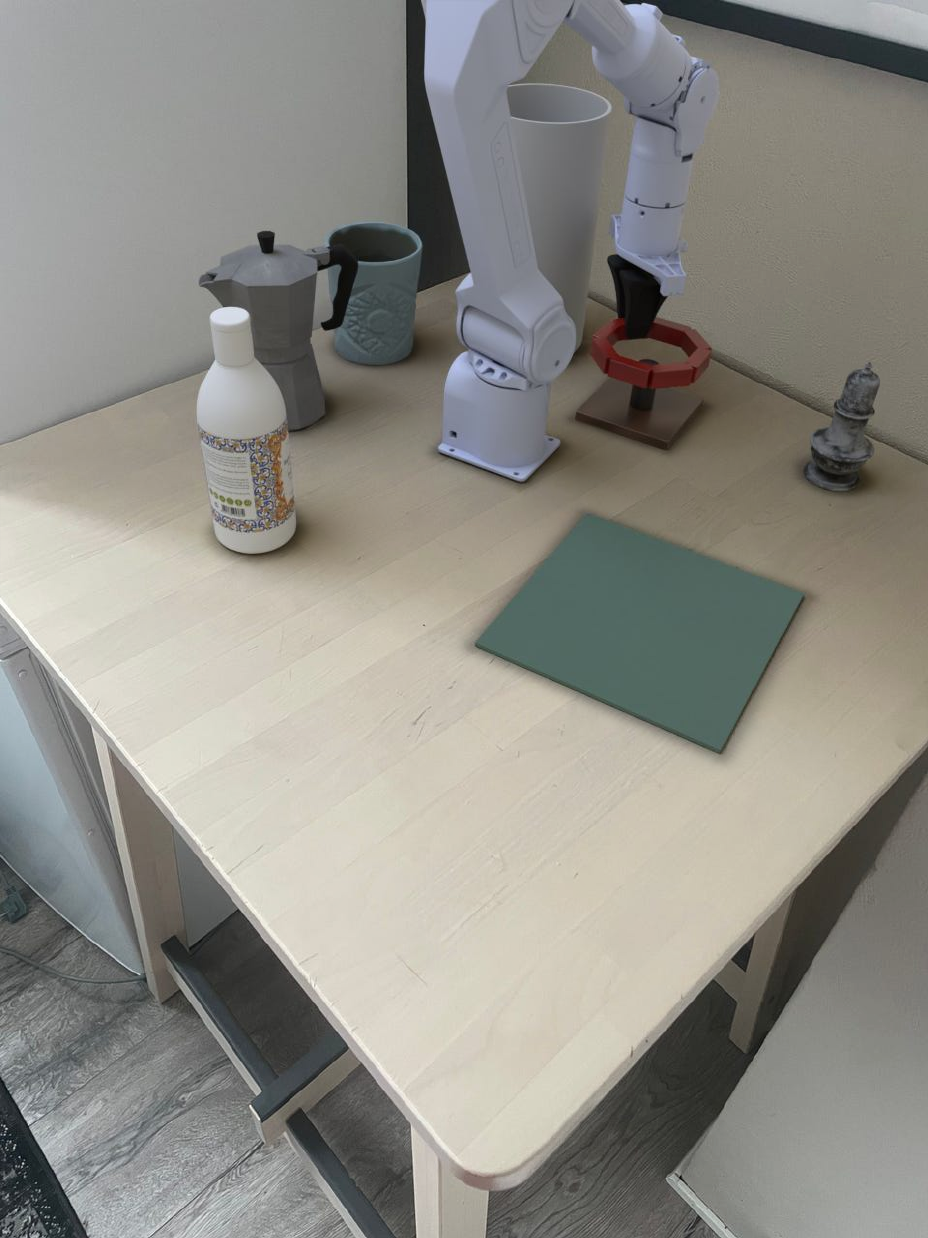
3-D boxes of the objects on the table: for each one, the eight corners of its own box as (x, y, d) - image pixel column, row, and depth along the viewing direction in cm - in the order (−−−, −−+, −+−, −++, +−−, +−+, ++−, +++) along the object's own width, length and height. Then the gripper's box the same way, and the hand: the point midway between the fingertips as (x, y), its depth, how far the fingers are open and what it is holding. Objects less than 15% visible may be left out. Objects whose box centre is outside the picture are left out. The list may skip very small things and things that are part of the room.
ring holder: (574, 419, 104) (581, 371, 100) (615, 378, 111) (622, 331, 107) (666, 450, 101) (676, 401, 97) (702, 406, 107) (713, 358, 103)
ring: (574, 366, 100) (576, 349, 98) (620, 323, 107) (623, 306, 106) (680, 399, 96) (683, 382, 95) (721, 352, 103) (724, 336, 102)
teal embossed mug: (363, 317, 119) (360, 213, 110) (438, 341, 115) (441, 235, 107) (311, 352, 112) (303, 245, 104) (388, 379, 108) (387, 270, 100)
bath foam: (293, 557, 86) (272, 338, 73) (209, 556, 86) (173, 336, 72) (300, 507, 91) (281, 294, 78) (221, 506, 91) (189, 292, 77)
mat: (474, 646, 79) (474, 642, 79) (586, 515, 92) (586, 512, 92) (719, 754, 72) (720, 750, 72) (803, 596, 85) (804, 592, 85)
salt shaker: (865, 497, 96) (908, 383, 88) (801, 488, 97) (837, 373, 89) (860, 463, 100) (900, 351, 92) (799, 454, 101) (833, 342, 93)
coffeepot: (236, 448, 98) (212, 265, 86) (203, 401, 104) (176, 224, 92) (381, 410, 104) (378, 234, 92) (342, 368, 110) (334, 198, 98)
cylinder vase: (495, 306, 122) (510, 76, 105) (595, 329, 119) (627, 95, 102) (453, 351, 113) (461, 109, 97) (559, 378, 110) (588, 131, 93)
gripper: (728, 224, 91) (698, 363, 100) (664, 167, 101) (642, 297, 110) (654, 229, 89) (630, 369, 99) (597, 170, 100) (580, 302, 109)
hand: (632, 332), depth 104 cm, fingers closed on ring, 1 cm apart
